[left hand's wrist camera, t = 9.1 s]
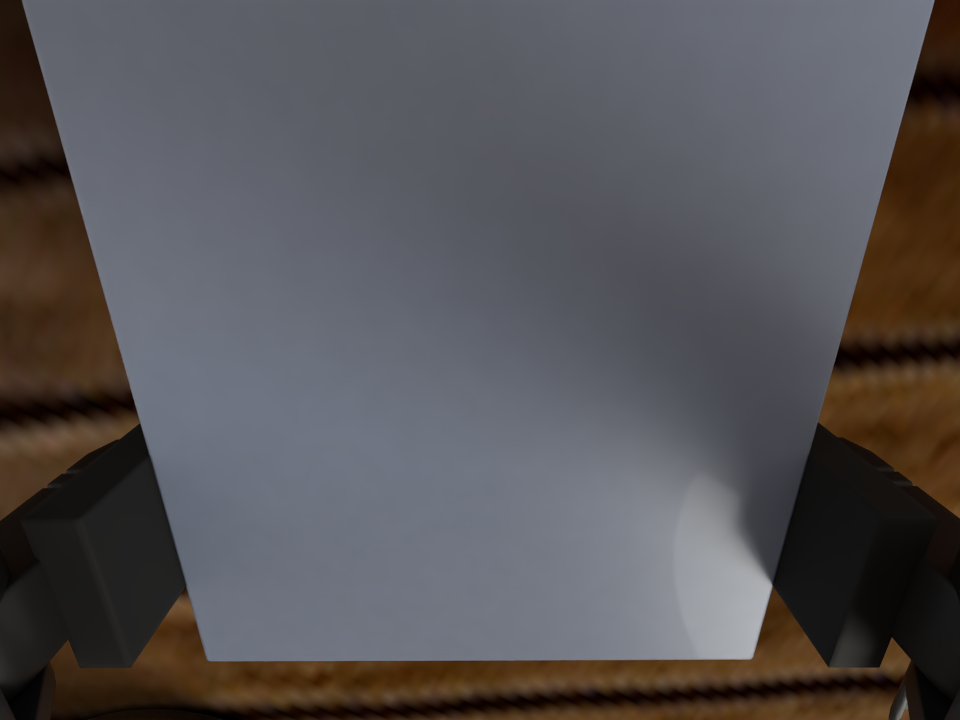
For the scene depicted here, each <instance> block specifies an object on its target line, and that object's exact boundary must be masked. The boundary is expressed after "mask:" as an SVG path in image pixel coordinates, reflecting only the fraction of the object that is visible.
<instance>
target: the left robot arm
mask: <svg viewBox="0 0 960 720" xmlns="http://www.w3.org/2000/svg"><path fill="white" fill-rule="evenodd" d="M773 586H774V588H775V589H776V591H777V592H778V594H779V595H780V597H781V598H782V599H783V601H784V602H785V604H786V605H787V607H788V608H789V610H790V611H791V613H792V614H793V616H794V617H795V619H796V620H797V622H798V623H799V625H800V626H801V627H802V629H803V630H804V632H805V633H806V635H807V636H808V638H809V639H810V641H811V642H812V644H813V645H814V647H815V648H816V650H817V651H818V652H819V654H820V655H821V657H822V658H823V660H824V661H825V663H826V664H827V666H828V667H880V665H881V662H882V660H883V657H884V655H885V652H886V650H887V647H888V645H889V642H890V640H891V637H892V638H893V639H894V640H895V641H896V642H897V643H898V645H899V646H900V647H901V648H902V649H903V651H904V652H905V653H906V654H907V655H908V656H909V658H910V659H911V662H910V664H909V666H908V669H907V671H906V673H905V676H904V678H903V680H902V683H901V685H900V687H899V689H898V692H897V694H896V696H895V699H894V701H893V703H892V706H891V708H890V714H889V720H900V718H901V715H902V713H903V711H904V710H907V709H908V710H909V716H910V720H960V518H958V517H957V516H956V515H954V514H953V513H952V512H950V511H949V510H948V509H946V508H945V507H944V506H942V505H941V504H940V503H938V502H937V501H936V500H935V499H933V498H932V497H931V496H929V495H928V494H927V493H925V492H924V491H923V490H921V489H920V488H919V487H917V486H913V485H912V482H911V481H910V480H908V479H907V478H906V477H904V476H903V475H902V474H900V473H899V472H894V468H892V467H891V466H890V465H888V464H887V463H886V462H885V461H883V460H882V459H881V458H879V457H878V456H877V455H875V454H874V453H873V452H871V451H869V450H867V449H865V448H863V447H861V446H859V445H857V444H855V443H853V442H851V441H848V440H846V439H844V438H837V437H836V436H834V435H833V434H832V433H831V432H829V431H828V430H827V429H826V428H824V427H823V426H822V425H821V424H819V423H818V424H817V427H816V431H815V434H814V438H813V442H812V445H811V449H810V453H809V456H808V460H807V463H806V467H805V471H804V474H803V478H802V482H801V485H800V489H799V492H798V496H797V500H796V503H795V507H794V510H793V514H792V518H791V521H790V525H789V529H788V532H787V536H786V539H785V543H784V547H783V550H782V554H781V558H780V561H779V565H778V568H777V572H776V576H775V579H774V583H773ZM185 587H186V584H185V580H184V577H183V573H182V569H181V566H180V562H179V559H178V555H177V552H176V548H175V544H174V541H173V537H172V534H171V530H170V527H169V523H168V520H167V516H166V512H165V509H164V505H163V502H162V498H161V495H160V491H159V487H158V484H157V480H156V477H155V473H154V470H153V466H152V462H151V459H150V455H149V452H148V448H147V445H146V441H145V438H144V434H143V430H142V427H141V423H140V424H139V425H137V426H136V427H135V428H134V429H132V430H131V431H130V432H129V433H127V434H126V435H125V436H124V437H122V438H121V439H120V440H115V441H113V442H111V443H109V444H107V445H105V446H103V447H101V448H99V449H97V450H95V451H93V452H91V453H89V454H87V455H86V456H85V457H83V458H82V459H81V460H79V461H78V462H77V463H75V464H74V465H73V466H71V467H70V468H69V469H68V470H66V474H61V475H60V476H58V477H57V478H56V479H54V480H53V481H52V482H51V483H49V484H48V487H47V488H43V489H41V490H40V491H39V492H38V493H36V494H35V495H34V496H32V497H31V498H30V499H28V500H27V501H26V502H24V503H23V504H22V505H21V506H19V507H18V508H17V509H15V510H14V511H13V512H11V513H10V514H9V515H8V516H6V517H5V518H4V519H2V520H1V521H0V720H50V718H51V712H52V706H53V700H54V693H55V687H56V681H55V675H54V671H53V669H52V666H51V664H50V662H49V661H50V660H51V659H52V658H53V656H54V655H55V654H56V653H57V652H58V650H59V649H60V648H61V647H62V646H63V645H64V643H65V642H66V641H67V640H68V639H69V642H70V644H71V647H72V649H73V652H74V654H75V657H76V659H77V662H78V664H79V667H80V668H131V666H132V665H133V663H134V662H135V660H136V659H137V657H138V656H139V654H140V653H141V652H142V650H143V649H144V647H145V646H146V644H147V643H148V641H149V640H150V638H151V637H152V635H153V634H154V632H155V631H156V629H157V628H158V627H159V625H160V624H161V622H162V621H163V619H164V618H165V616H166V615H167V613H168V612H169V610H170V609H171V607H172V606H173V604H174V603H175V601H176V600H177V599H178V597H179V596H180V594H181V593H182V591H183V590H184V588H185ZM88 720H223V719H219V718H216V717H212V716H208V715H203V714H198V713H193V712H186V711H179V710H167V709H139V710H127V711H120V712H114V713H109V714H104V715H101V716H97V717H94V718H91V719H88Z"/></svg>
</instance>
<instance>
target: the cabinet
mask: <svg viewBox="0 0 960 720" xmlns="http://www.w3.org/2000/svg"><path fill="white" fill-rule="evenodd" d="M22 3H23V6H24V10H25V13H26V17H27V21H28V24H29V28H30V31H31V35H32V38H33V42H34V45H35V49H36V53H37V56H38V60H39V63H40V67H41V70H42V74H43V78H44V81H45V85H46V88H47V92H48V95H49V99H50V102H51V106H52V110H53V113H54V117H55V120H56V124H57V127H58V131H59V135H60V138H61V142H62V145H63V149H64V152H65V156H66V160H67V163H68V167H69V170H70V174H71V177H72V181H73V184H74V188H75V192H76V195H77V199H78V202H79V206H80V209H81V213H82V217H83V220H84V224H85V227H86V231H87V234H88V238H89V241H90V245H91V249H92V252H93V256H94V259H95V263H96V266H97V270H98V274H99V277H100V281H101V284H102V288H103V291H104V295H105V299H106V302H107V306H108V309H109V313H110V316H111V320H112V323H113V327H114V331H115V334H116V338H117V341H118V345H119V348H120V352H121V356H122V359H123V363H124V366H125V370H126V373H127V377H128V381H129V384H130V388H131V391H132V395H133V398H134V402H135V405H136V409H137V413H138V416H139V420H140V423H141V427H142V430H143V434H144V438H145V441H146V445H147V448H148V452H149V455H150V459H151V462H152V466H153V470H154V473H155V477H156V480H157V484H158V487H159V491H160V495H161V498H162V502H163V505H164V509H165V512H166V516H167V520H168V523H169V527H170V530H171V534H172V537H173V541H174V544H175V548H176V552H177V555H178V559H179V562H180V566H181V569H182V573H183V577H184V580H185V584H186V587H187V591H188V594H189V598H190V601H191V605H192V609H193V612H194V616H195V619H196V623H197V626H198V630H199V634H200V637H201V641H202V644H203V648H204V651H205V655H206V659H207V660H208V661H427V660H746V659H752V658H753V655H754V652H755V648H756V644H757V641H758V637H759V633H760V630H761V626H762V623H763V619H764V615H765V612H766V608H767V605H768V601H769V597H770V594H771V590H772V586H773V583H774V579H775V576H776V572H777V568H778V565H779V561H780V558H781V554H782V550H783V547H784V543H785V539H786V536H787V532H788V529H789V525H790V521H791V518H792V514H793V510H794V507H795V503H796V500H797V496H798V492H799V489H800V485H801V482H802V478H803V474H804V471H805V467H806V463H807V460H808V456H809V453H810V449H811V445H812V442H813V438H814V434H815V431H816V427H817V424H818V420H819V416H820V413H821V409H822V406H823V402H824V398H825V395H826V391H827V387H828V384H829V380H830V377H831V373H832V369H833V366H834V362H835V359H836V355H837V351H838V348H839V344H840V340H841V337H842V333H843V330H844V326H845V322H846V319H847V315H848V311H849V308H850V304H851V301H852V297H853V293H854V290H855V286H856V283H857V279H858V275H859V272H860V268H861V264H862V261H863V257H864V254H865V250H866V246H867V243H868V239H869V235H870V232H871V228H872V225H873V221H874V217H875V214H876V210H877V207H878V203H879V199H880V196H881V192H882V188H883V185H884V181H885V178H886V174H887V170H888V167H889V163H890V160H891V156H892V152H893V149H894V145H895V141H896V138H897V134H898V131H899V127H900V123H901V120H902V116H903V112H904V109H905V105H906V102H907V98H908V94H909V91H910V87H911V84H912V80H913V76H914V73H915V69H916V65H917V62H918V58H919V55H920V51H921V47H922V44H923V40H924V37H925V33H926V29H927V26H928V22H929V18H930V15H931V11H932V8H933V4H934V0H22Z"/></svg>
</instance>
